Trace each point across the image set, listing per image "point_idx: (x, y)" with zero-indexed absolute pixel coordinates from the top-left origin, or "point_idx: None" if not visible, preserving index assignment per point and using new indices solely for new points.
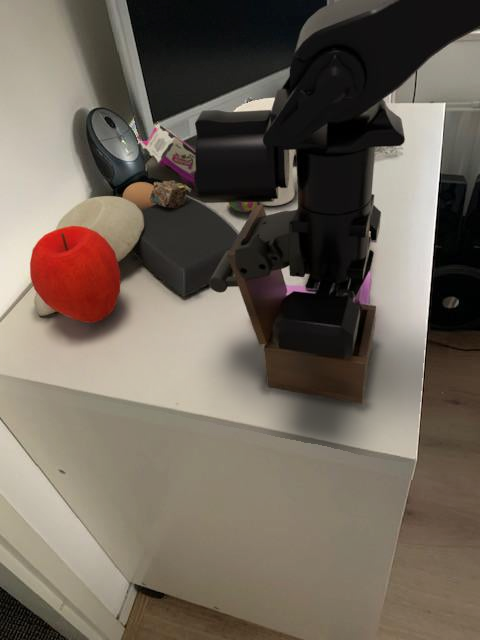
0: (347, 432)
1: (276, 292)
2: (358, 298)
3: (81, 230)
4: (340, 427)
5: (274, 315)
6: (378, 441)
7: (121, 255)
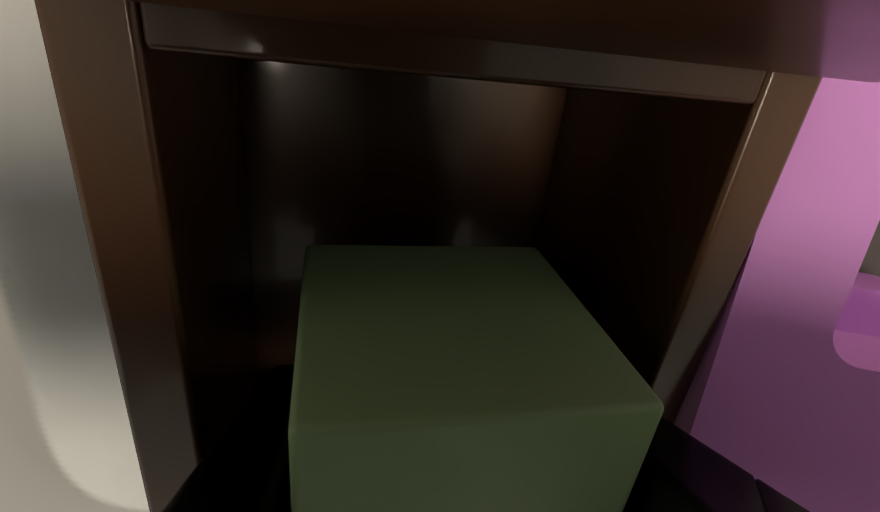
0: (71, 361)
1: (856, 30)
2: None
3: None
4: (83, 336)
5: (472, 24)
6: (81, 447)
7: None
